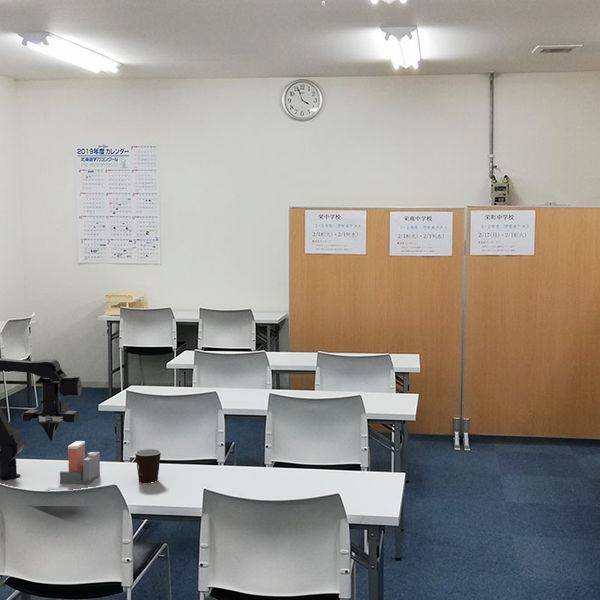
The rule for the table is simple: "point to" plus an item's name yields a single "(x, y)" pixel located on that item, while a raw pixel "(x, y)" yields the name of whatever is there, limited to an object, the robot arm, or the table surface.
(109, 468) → the table surface
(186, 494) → the table surface
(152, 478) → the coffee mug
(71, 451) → the red rectangular block
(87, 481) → the grey stepped block
